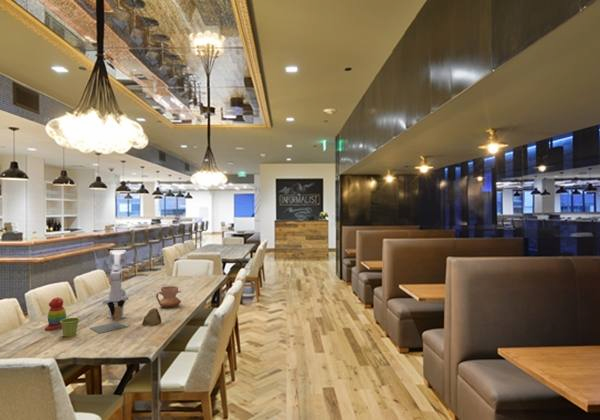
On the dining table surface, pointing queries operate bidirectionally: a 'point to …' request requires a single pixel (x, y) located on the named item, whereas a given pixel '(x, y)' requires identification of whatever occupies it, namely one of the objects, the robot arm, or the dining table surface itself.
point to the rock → (152, 317)
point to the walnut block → (117, 312)
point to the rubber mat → (108, 327)
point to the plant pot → (69, 326)
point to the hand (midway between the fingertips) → (115, 313)
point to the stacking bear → (55, 314)
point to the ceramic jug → (169, 296)
